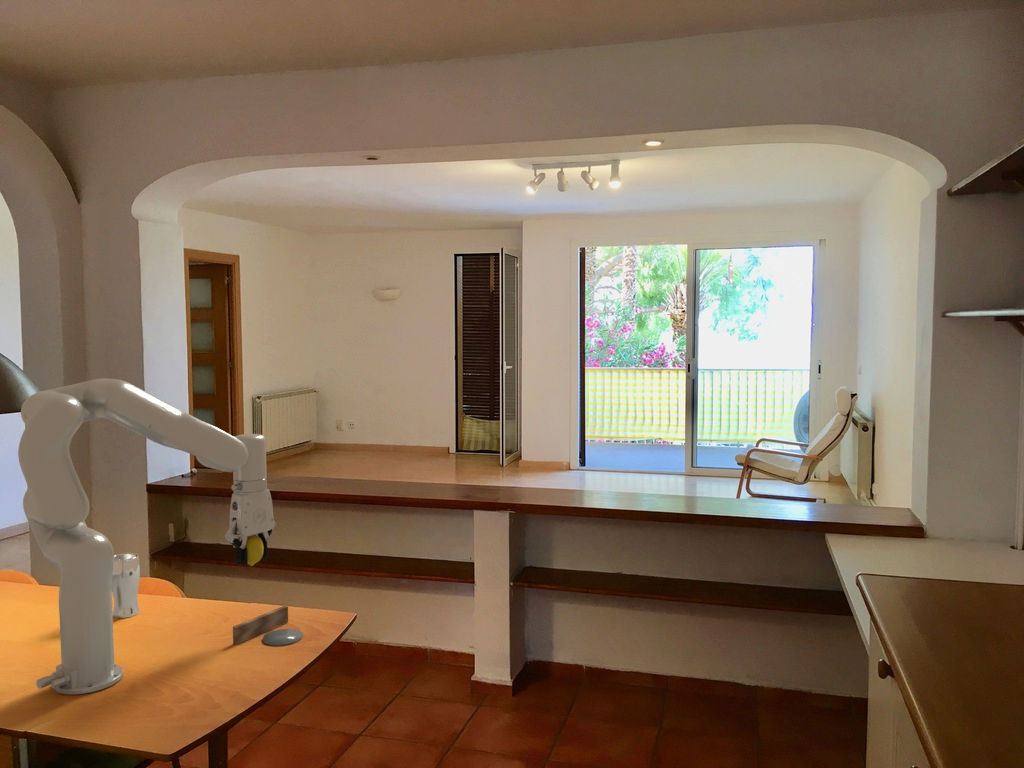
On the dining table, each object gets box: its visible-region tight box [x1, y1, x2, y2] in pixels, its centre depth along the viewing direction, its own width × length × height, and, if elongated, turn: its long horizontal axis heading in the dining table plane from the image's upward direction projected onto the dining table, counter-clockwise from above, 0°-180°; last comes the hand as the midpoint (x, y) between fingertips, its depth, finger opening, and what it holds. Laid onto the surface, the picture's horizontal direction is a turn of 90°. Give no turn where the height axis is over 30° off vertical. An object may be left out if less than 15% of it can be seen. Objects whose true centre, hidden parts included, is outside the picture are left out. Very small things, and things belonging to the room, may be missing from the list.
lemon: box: [245, 534, 264, 567], centre depth 184 cm, size 6×6×8 cm
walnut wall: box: [232, 605, 289, 646], centre depth 184 cm, size 16×1×4 cm, turn 151°
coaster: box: [262, 628, 304, 647], centre depth 181 cm, size 9×9×1 cm
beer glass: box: [112, 552, 141, 619], centre depth 196 cm, size 7×7×15 cm
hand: (251, 559), depth 184 cm, fingers closed on lemon, 5 cm apart
